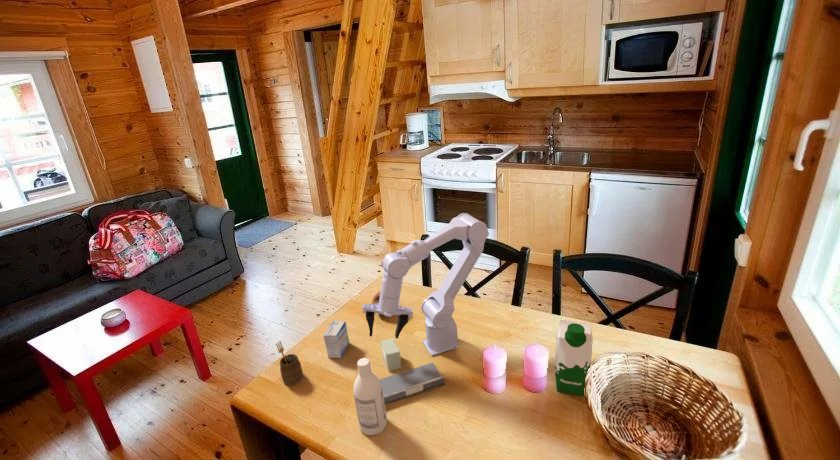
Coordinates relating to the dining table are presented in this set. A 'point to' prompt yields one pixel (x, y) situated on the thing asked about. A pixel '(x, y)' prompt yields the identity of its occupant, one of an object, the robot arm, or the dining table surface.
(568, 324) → the milk carton
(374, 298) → the onion
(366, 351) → the dining table surface
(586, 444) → the dining table surface
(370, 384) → the bath foam
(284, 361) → the utensil holder
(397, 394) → the shelf board
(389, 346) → the carton
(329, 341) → the medicine box
